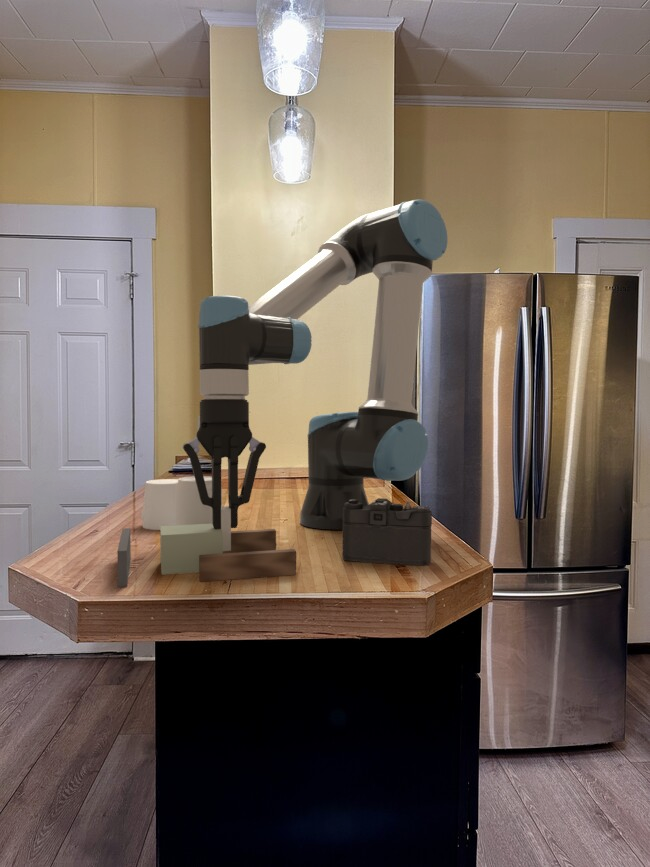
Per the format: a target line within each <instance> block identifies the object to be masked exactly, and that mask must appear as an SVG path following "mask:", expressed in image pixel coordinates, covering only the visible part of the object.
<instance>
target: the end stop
mask: <svg viewBox="0 0 650 867" xmlns="http://www.w3.org/2000/svg"><path fill="white" fill-rule="evenodd" d="M121 530H122V531H121V534H120V538H119V542H118V547H117V552H116V553H117V587H118V588H123V587H128V583H129V574H130V566H131V559H132V558H131V556H132V554H131V553H132V552H131V551H132V550H131V549H132V548H131V528H130V527H129V528H122V529H121Z"/></svg>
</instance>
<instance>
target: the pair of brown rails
mask: <svg viewBox="0 0 650 867" xmlns="http://www.w3.org/2000/svg"><path fill="white" fill-rule="evenodd" d="M294 575H295V576H296V575H297V550H296V549H295V548H289V549H277V530H276V529H275V528H268V529H249V530H247V529H246V530H231V551H223V553H222V554H207V555H199V572H198V579H199V582H200V583H203V582H205V583H206V582H214V581H215V582H216V581H230V580H242V579H255V578H256V579H257V578H270V577H280V576H281V577H282V576H294Z"/></svg>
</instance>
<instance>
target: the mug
mask: <svg viewBox="0 0 650 867" xmlns="http://www.w3.org/2000/svg"><path fill="white" fill-rule="evenodd" d="M178 479H179V478H164V479H163V478H161V479H150V480H147V481H145V485H144V486H145V487H144V494H143V495H144V496H143V508H142V509H141V516H140V518H141V520H142V521H143V522H142V528H143V529H146V530H152V531H160V526H175V525H176V514H175V486H176V484H177V483H178Z"/></svg>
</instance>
